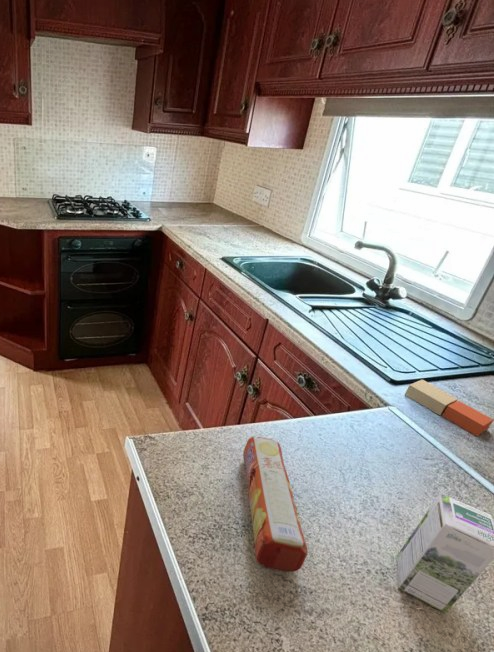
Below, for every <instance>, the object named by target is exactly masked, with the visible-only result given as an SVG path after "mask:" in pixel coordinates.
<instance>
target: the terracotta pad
mask: <svg viewBox="0 0 494 652" xmlns="http://www.w3.org/2000/svg"><path fill="white" fill-rule="evenodd" d="M441 416H442V417H443V418H445V419H447V420H448V421H449V422H451V423H453V424H455V425H457V426H458V427H460V428H462V429H463V430H465V431H466V432H469V433H470V434H472V435H474V436H475V437H478V436H480V435H481V434H483V433H484V432H486V431H488V429H489V428H490V427H491V425H492V423H493V422H494V419H493V418H491V417H490V416H488V415H486V414H484V413H483V412H480V411H478V410H477V409H475V408H473V407H471V406H469V405H468V404H466V403H464V402H462V401H460V400H457V401H456V402H454V403H453V404H451V405H449V406H448V407H447V408H446V410H445V412H444V413H443V414H441Z"/></svg>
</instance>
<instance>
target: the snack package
mask: <svg viewBox="0 0 494 652" xmlns="http://www.w3.org/2000/svg"><path fill="white" fill-rule="evenodd" d="M242 456H243V462H244V466H245V473H246V480H247V489H248V491H247V492H248V501H249V507H250V515H251V523H252V524H251V525H252V531H253V539H254V554H255V560H256V562H257V564H259V565H260V566H262V567H265V568H268V569H270V570H276V571H281V572H285V573H286V572H287V573H294V572H297V571H298V570H300V569H301V568H302V567H303V565H304V563H305V561H306V559H307V556H308V553H309V550H308V546H307V543H306V540H305V537H304V533H303V530H302V526H301V522H300V517H299V514H298V511H297V507H296V503H295V498H294V495H293V491H292V488H291V483H290V479H289V476H288V473H287V469H286V465H285V462H284V458H283V451H282V447H281V445H280V442H278V441H277V440H276V439H273V438H268V437H263V436H252V437H250V438H248V440H247V441H246V443H245V446H244V449H243V454H242Z"/></svg>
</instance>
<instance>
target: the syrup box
mask: <svg viewBox="0 0 494 652" xmlns="http://www.w3.org/2000/svg"><path fill="white" fill-rule="evenodd" d="M396 559H397V560H396V563H397V581H398V582H397V583H398V589H399V590H400V591H402V592H403V593H406V594H408V595H410V596H412V597H414V598H416V599H417V600H419V601H421V602H423V603H425V604H427V605H428V606H431V607H433V608H435V609H437V610H438V611H440V612H441V613H444V614H445V613H447V612H448V611H449V610H450V609H451V608H452V607H453V606H454V605H455V603H456V602H457V601H458V600H459V599H460V598H461V596H463V594H464V593H465V592H466V591H467V590H468V589H469V588H470V586H472V584H473V583H474V582H475V581H476V580H477V578H479V576H481V574H482V573H483V572H484V571H485V570H486V569H487V568H488V566H489V565H490V564H491V563H492V562H493V561H494V519H493V517H492V515H491V514H490V513H487V512H485V511H483V510H481V509H478V508H475V507H473V506H471V505H469V504H466V503H463V501H459V500H456V499H454V498H451V497H450V496H447V495H445V494H443V493H439V494H438V495H437V497H436V498H435V499H434V501H433V502H432V504H431V505H430V506H429V508H428V510H427V511H426V513H425V514H424V516H422V518H421V520H420V521H419V523H418V524H417V526H416V528H414V530H413V531H412V533H411V535H410V536H409V537H408V539H407V541H406V542H405V543H404V544H403V546H402V547H401V549H400V550H399V552H398V553H397V554H396Z"/></svg>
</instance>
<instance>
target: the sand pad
mask: <svg viewBox="0 0 494 652" xmlns="http://www.w3.org/2000/svg"><path fill="white" fill-rule="evenodd" d="M404 396H406V397H408V398H410V399H411V400H413V401H414V402H416V403H418V404H420V405H421V406H423V407H425V408H426V409H428V410H430V411H432V412H433V413H435V414H437V415H438V416H442V415H443V413H444V412H445V410H446V408H447V407H448V406H449V405H451V404H453V403H454V402H456V401H459V398H457V397H455V396H454V395H452V394H450V393H448V392H447V391H444V390H442V388H439V387H438V386H436V385H434V384H431V383H430V382H428V381H426V380H424V379H420V380H418V381H414V382H413V383H411V384H409V385H408V386H407V389H406V391H405V392H404Z"/></svg>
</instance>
